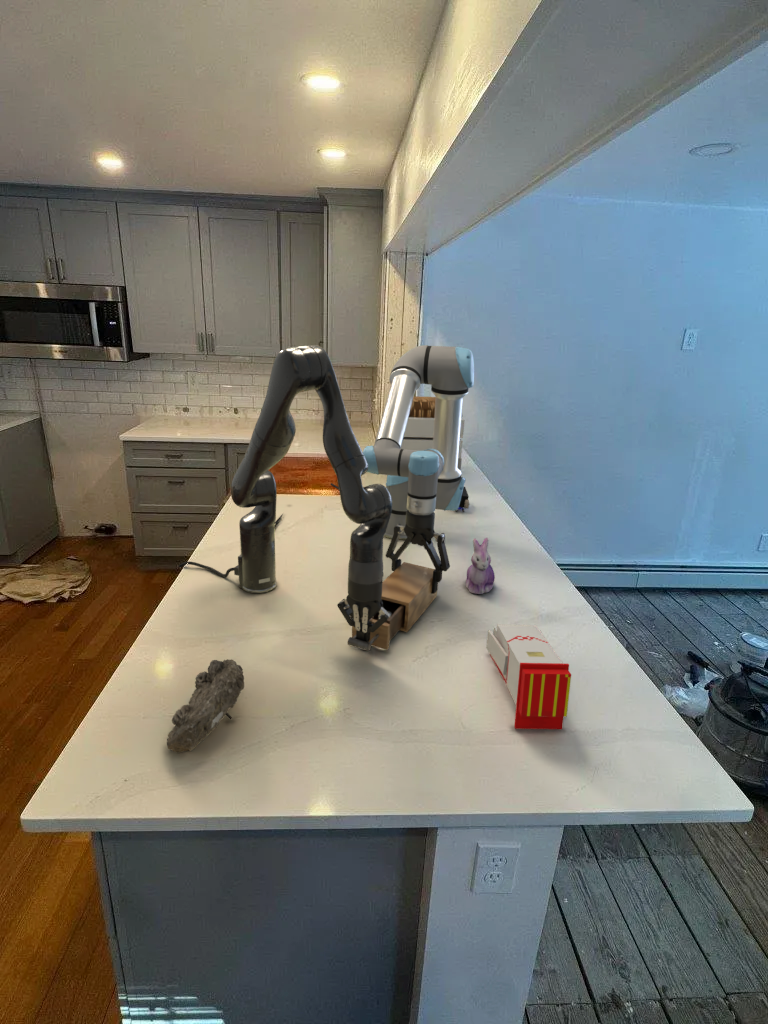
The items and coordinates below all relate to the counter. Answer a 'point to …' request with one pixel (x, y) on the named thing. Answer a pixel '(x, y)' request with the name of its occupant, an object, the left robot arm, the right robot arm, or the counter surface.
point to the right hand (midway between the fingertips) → (415, 586)
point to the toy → (531, 675)
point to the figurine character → (464, 500)
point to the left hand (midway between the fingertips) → (363, 643)
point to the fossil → (206, 705)
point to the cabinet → (410, 591)
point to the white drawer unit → (424, 427)
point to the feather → (278, 520)
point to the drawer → (382, 628)
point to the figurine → (480, 569)
